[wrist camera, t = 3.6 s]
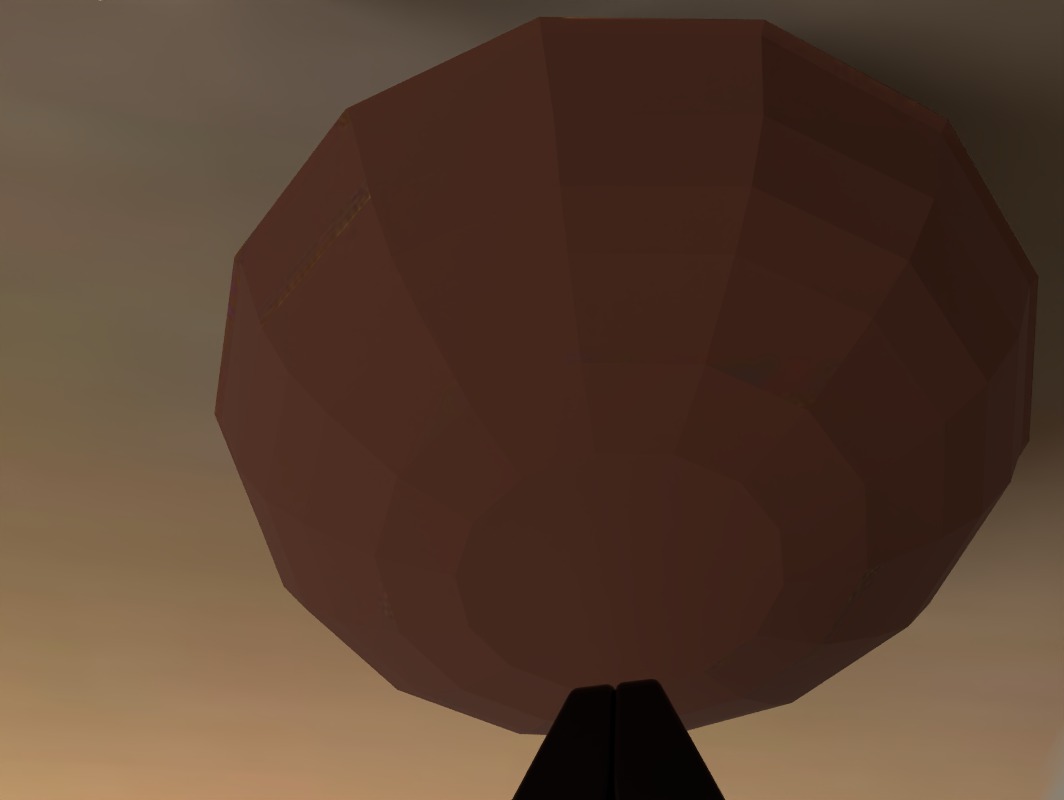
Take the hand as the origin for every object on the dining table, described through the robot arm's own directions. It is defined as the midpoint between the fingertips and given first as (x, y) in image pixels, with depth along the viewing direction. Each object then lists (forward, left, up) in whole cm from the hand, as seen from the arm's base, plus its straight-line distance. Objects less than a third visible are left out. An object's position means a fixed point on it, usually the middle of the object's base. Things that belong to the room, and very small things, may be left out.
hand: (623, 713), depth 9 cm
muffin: (0, 0, -12) cm, 12 cm away
